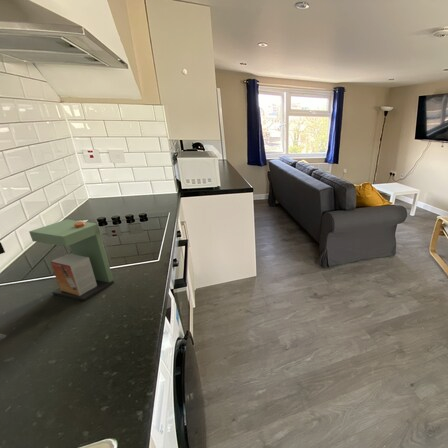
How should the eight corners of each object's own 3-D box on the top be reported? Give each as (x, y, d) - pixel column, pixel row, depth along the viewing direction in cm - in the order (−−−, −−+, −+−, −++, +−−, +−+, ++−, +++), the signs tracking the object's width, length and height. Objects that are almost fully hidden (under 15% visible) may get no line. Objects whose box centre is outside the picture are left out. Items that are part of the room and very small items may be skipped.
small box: (60, 291, 80) (49, 261, 76) (79, 281, 85) (69, 252, 81) (79, 296, 78) (69, 265, 74) (98, 286, 83) (89, 256, 79)
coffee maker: (53, 294, 80) (27, 228, 72) (85, 277, 89) (65, 216, 81) (84, 301, 77) (62, 233, 69) (114, 282, 86) (97, 221, 78)
